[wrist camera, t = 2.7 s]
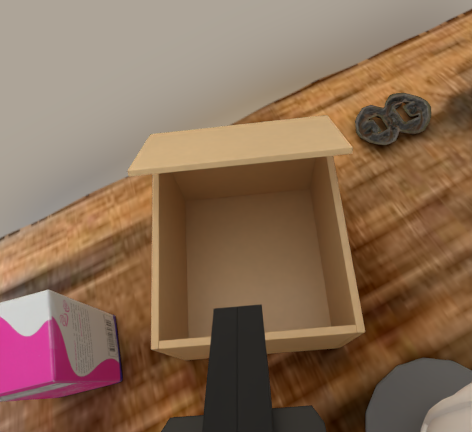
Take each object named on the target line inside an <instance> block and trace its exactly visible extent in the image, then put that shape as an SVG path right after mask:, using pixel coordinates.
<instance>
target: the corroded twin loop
mask: <svg viewBox="0 0 472 432" xmlns="http://www.w3.org/2000/svg"><path fill="white" fill-rule="evenodd" d="M402 103H405V104H406V105H405V106H403V108H404V110H405V112H406V113H407V114H408V115H409V117H415V116H419V117H417V118H414V119H412V120H410V121H407V122H404V121H403V119H402V118H401V116H400V115H399V114H398V112H397V111H396V110H395V109H396V108H397V107H400V106H401V104H402ZM373 117H377V118H381V119H382V120H383V122H384V124H385V126H386V128H387V130H385V131H383V132H381V129H380V128H379V126H378V125H377V124H376V123H375V121H374V120H373V119H372V120H369V119H371V118H373ZM430 118H431V107H430V105H429V103H428V102H427V101H426V100H424V99H422V98H420V97H418V96H414V95H410V94H406V93H397V94H392V95H390V96H389V97H388V99H387V101H386V103H385V107H384V108H381V107H377V106H373V105H369V106H367V107H364V108H362V109H361V111H360V113H359V114H358V116H357V118H356V121H355V123H356V133H357V134H358V136H359V137H360V138H361V139H364V140H365V141H367V142H370V143H373V144H379V145H387V144H390V143H392V142H394V141H396V140H397V136H398V134H399V132H401V133H405V134H407V133H409V134H415V133H420V132H422V131H424V130H425V129H426V127H427V125H428V124H429V122H430ZM379 132H381V133H379Z"/></svg>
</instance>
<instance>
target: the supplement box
mask: <svg viewBox="0 0 472 432" xmlns="http://www.w3.org/2000/svg"><path fill="white" fill-rule="evenodd" d="M121 381H122V369H121V359H120V351H119V342H118V334H117V327H116V318H115V315H112V314H110V313H107V312H104V311H102V310H99V309H97V308H94V307H91V306H89V305H86V304H84V303H81V302H78V301H76V300H73V299H71V298H68V297H66V296H63V295H61V294H58V293H56V292H53V291H51V290H45V291H41V292H38V293H34V294H31V295H27V296H23V297H20V298H16V299H12V300H9V301H5V302H1V303H0V401H16V400H29V399H45V398H59V397H63V396H68V395H72V394H76V393H80V392H84V391H88V390H92V389H96V388H100V387H104V386H108V385H112V384H116V383H119V382H121Z"/></svg>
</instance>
